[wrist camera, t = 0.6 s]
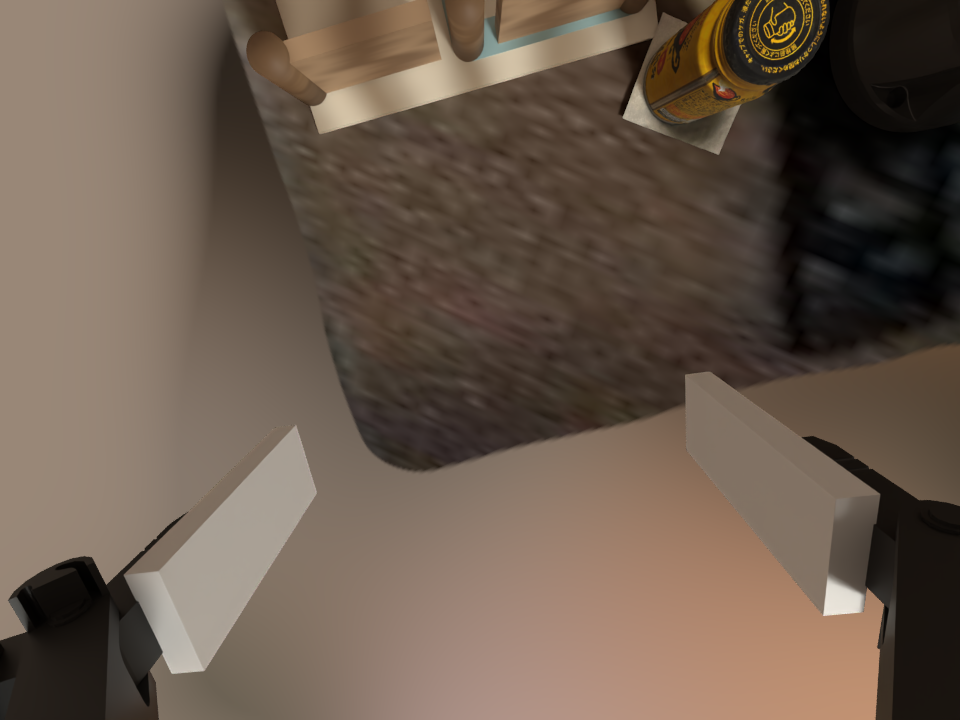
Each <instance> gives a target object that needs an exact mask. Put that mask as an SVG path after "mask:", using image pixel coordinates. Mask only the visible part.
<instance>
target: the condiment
mask: <svg viewBox="0 0 960 720" xmlns="http://www.w3.org/2000/svg"><path fill="white" fill-rule="evenodd" d="M829 19H830V11H829V0H716V1H715V2H714V3H713V4H712V5H711V6H709V7H708V8H707V9H706V10H704V11H703V12H702V13H701V14H699V15H698V16H697V17H696V18H694V19H693V20H692V21H691V22H690V23H686V22H684V21H682V20H680V19H676V18H674V17H672V16H670V15H668V14H666V13H664V12H663V14H662V16H661V19H660V22H659V24H658V27H657V29H656V31H655V34H654V37H653V40H652V42H651V44H650V47H649V50H648V52H647V55H646V57H645V60H644V62H643V65H642V68H641V70H640V73H639V76H638V78H637V81H636V83H635V86H634V89H633V92H632V94H631V97H630V100H629V102H628V105H627V108H626V110H625V113H624V115H623V119H626V120H628V121H631V122H633V123H636V124H638V125H641V126H643V127H646V128H649V129H651V130H654V131H656V132H659V133H662V134H664V135H667V136H670V137H672V138H676V139H679V140H681V141H684V142H686V143H689V144H691V145H694V146H696V147H699V148H702V149H705V150H708V151H710V152H713V153H715V154H718V155H719V153H720V150H721V148H722V146H723V143H724V140H725V138H726V136H727V134H728V132H729V129H730V127H731V125H732V123H733V120H734V118H735V116H736V113H737V111H738V109H739V107H740V105H741V104H743V103H745V102H748V101H751V100H754V99H757V98H759V97H760V96H762V95H764V94H766V93H767V92H768V91H770V90H771V89H772V88H773V87H774V86H776V85H777V84H778V83H781V82H782V81H783V80H787V79H789V78H790V77H791V76H793V75H795V74H797V73H798V72H799V71H800V70H801V69H802V68H803V67H805V66H806V64H807V63H808V62H809V61H810V60H811V59H812V58H813V57H814V55H815V53H816V52H817V50H818V49H819V47H820V44H821V42H822V41H823V39H824V37H825V34H826V31H827V27H828V24H829Z"/></svg>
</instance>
